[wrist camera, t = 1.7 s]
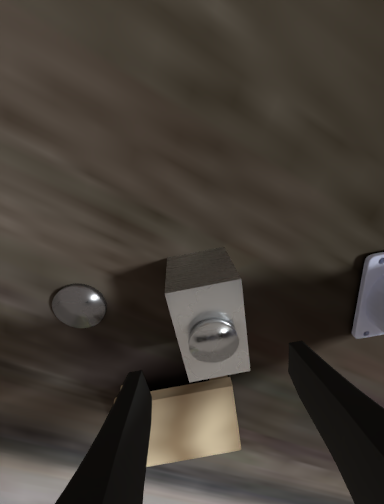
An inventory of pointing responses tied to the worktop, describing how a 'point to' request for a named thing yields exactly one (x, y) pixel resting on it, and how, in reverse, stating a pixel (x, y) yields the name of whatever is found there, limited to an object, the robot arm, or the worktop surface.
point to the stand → (193, 421)
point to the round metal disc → (79, 305)
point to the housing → (208, 313)
